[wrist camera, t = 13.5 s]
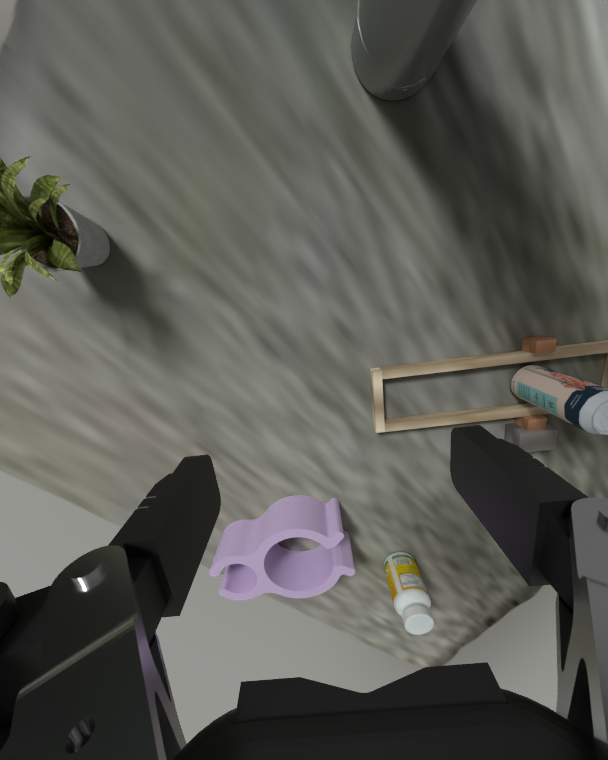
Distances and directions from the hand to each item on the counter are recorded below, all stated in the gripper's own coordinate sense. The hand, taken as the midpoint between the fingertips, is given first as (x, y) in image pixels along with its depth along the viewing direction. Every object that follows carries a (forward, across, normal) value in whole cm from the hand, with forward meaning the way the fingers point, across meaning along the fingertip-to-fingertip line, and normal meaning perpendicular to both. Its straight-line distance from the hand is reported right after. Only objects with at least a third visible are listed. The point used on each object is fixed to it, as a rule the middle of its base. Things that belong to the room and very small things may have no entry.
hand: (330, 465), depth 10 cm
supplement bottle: (+30, -10, +40) cm, 51 cm away
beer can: (+30, -28, +10) cm, 43 cm away
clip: (+30, +8, +31) cm, 44 cm away
